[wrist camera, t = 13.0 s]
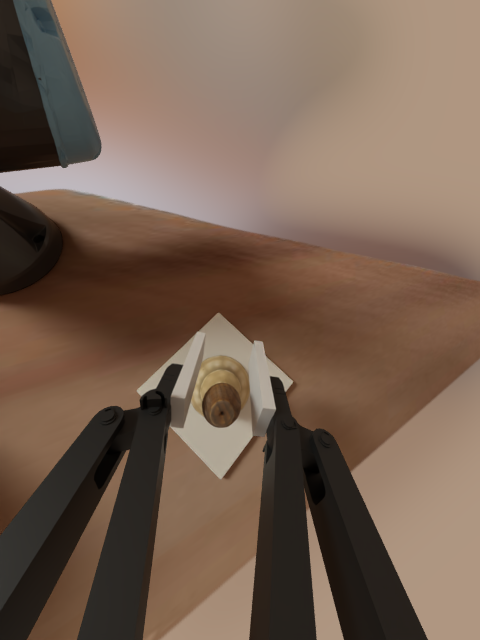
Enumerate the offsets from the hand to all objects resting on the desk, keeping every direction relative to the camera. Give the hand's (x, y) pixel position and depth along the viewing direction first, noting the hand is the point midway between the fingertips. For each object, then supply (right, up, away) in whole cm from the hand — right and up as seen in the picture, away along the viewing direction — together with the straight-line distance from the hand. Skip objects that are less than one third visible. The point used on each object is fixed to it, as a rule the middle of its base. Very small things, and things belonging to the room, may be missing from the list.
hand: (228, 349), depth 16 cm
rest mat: (-2, -7, +9) cm, 11 cm away
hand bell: (-2, -7, +8) cm, 11 cm away
